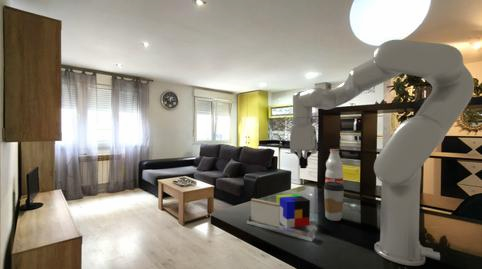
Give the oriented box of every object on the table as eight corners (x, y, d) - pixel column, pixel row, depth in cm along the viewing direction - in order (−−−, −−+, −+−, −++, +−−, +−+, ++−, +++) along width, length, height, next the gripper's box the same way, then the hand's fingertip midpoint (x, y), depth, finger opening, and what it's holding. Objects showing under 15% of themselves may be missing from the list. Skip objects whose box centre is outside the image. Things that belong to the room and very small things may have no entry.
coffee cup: (346, 218, 98) (347, 183, 98) (339, 223, 92) (340, 186, 92) (327, 213, 104) (328, 180, 104) (319, 218, 98) (320, 183, 98)
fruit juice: (344, 197, 131) (345, 149, 131) (340, 201, 124) (340, 150, 124) (328, 194, 137) (328, 148, 137) (322, 198, 130) (323, 149, 130)
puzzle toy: (286, 227, 87) (287, 202, 87) (275, 218, 97) (276, 195, 97) (309, 225, 90) (309, 200, 90) (296, 216, 100) (297, 193, 100)
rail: (314, 237, 79) (315, 229, 79) (311, 241, 76) (311, 232, 76) (251, 220, 94) (251, 213, 94) (246, 223, 91) (246, 216, 91)
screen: (279, 225, 86) (280, 203, 86) (278, 226, 84) (278, 204, 84) (252, 218, 92) (252, 198, 92) (250, 219, 91) (251, 199, 91)
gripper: (324, 122, 91) (325, 168, 91) (288, 124, 99) (289, 166, 99) (319, 121, 85) (320, 170, 84) (281, 123, 93) (282, 168, 93)
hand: (303, 167), depth 92 cm, fingers closed
